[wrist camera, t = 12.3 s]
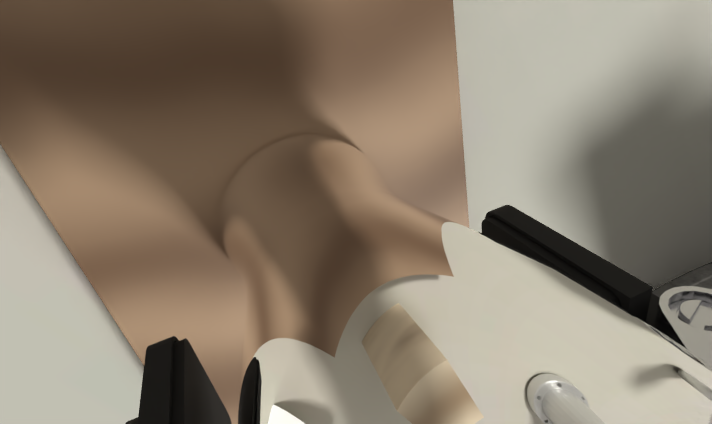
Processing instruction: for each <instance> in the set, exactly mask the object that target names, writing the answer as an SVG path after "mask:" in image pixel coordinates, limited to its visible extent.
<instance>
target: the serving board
mask: <svg viewBox="0 0 712 424" xmlns="http://www.w3.org/2000/svg"><path fill="white" fill-rule="evenodd" d="M298 135H324V136H329V137H334V138H337V139H340V140H342V141H345V142H347V143H349V144H351V145H352V146H354V147H355V148H357V149H358V150H360V151H361V152H362V153H363V154H364V155H365V156H366V157H367V158H368V159H369V160H370V161H371V162H372V163H373V164H374V166H375V167H376V168H377V170H378V171H379V173H380V174H381V176H382V177H383V179H384V181H385V182H386V184H387V186H388V187H389V189H390V190H391V191H392V192H393V193H394V194H395V195H396V196H398V197H399V198H401V199H402V200H404V201H407V202H409V203H411V204H413V205H415V206H417V207H420V208H422V209H425V210H427V211H429V212H432V213H434V214H437V215H439V216H442V217H444V218H447V219H449V220H452V221H454V222H456V223H459V224H461V225H463V226H466V227H468V228H469V219H468V205H467V191H466V177H465V163H464V149H463V135H462V122H461V108H460V94H459V80H458V66H457V52H456V38H455V24H454V10H453V0H0V144H1V146H2V147H3V149H4V150H5V152H6V153H7V155H8V156H9V158H10V159H11V161H12V163H13V164H14V166H15V167H16V169H17V170H18V172H19V173H20V175H21V176H22V178H23V180H24V181H25V183H26V184H27V186H28V187H29V189H30V190H31V192H32V193H33V195H34V197H35V198H36V200H37V201H38V203H39V204H40V206H41V207H42V209H43V210H44V212H45V214H46V215H47V217H48V218H49V220H50V221H51V223H52V224H53V226H54V227H55V229H56V231H57V232H58V234H59V235H60V237H61V238H62V240H63V241H64V243H65V244H66V246H67V248H68V249H69V251H70V252H71V254H72V255H73V257H74V258H75V260H76V261H77V263H78V265H79V266H80V268H81V269H82V271H83V272H84V274H85V275H86V277H87V278H88V280H89V281H90V283H91V285H92V286H93V288H94V289H95V291H96V292H97V294H98V295H99V297H100V298H101V300H102V302H103V303H104V305H105V306H106V308H107V309H108V311H109V312H110V314H111V315H112V317H113V319H114V320H115V322H116V323H117V325H118V326H119V328H120V329H121V331H122V332H123V334H124V336H125V337H126V339H127V340H128V342H129V343H130V345H131V346H132V348H133V349H134V351H135V353H136V354H137V356H138V357H139V359H140V360H141V362H142V363H143V365H144V364H145V355H146V349H147V347H148V346H149V345H152V344H154V343H157V342H159V341H162V340H165V339H167V338H170V337H172V336H175V337H177V338H178V340H179V341H180V340H183V339H185V338H186V339H187V340H188V341H189V343H190V344H191V346H192V348H193V350H194V352H195V353H196V355H197V357H198V359H199V361H200V363H201V364H202V366H203V368H204V370H205V372H206V373H207V375H208V377H209V379H210V381H211V383H212V384H213V386H214V388H215V390H216V392H217V393H218V395H219V397H220V399H221V401H222V403H223V404H224V406H225V408H226V410H227V412H228V414H229V416H230V419H231V423H232V424H238V408H239V394H240V381H241V367H242V354H243V342H244V331H245V320H246V298H247V296H246V288H245V285H244V282H243V280H242V279H241V277H240V275H239V274H238V272H237V271H236V269H235V268H234V266H233V264H232V263H231V261H230V259H229V257H228V255H227V253H226V251H225V248H224V246H223V242H222V239H221V234H220V227H219V216H220V208H221V203H222V199H223V196H224V194H225V191H226V189H227V187H228V185H229V183H230V181H231V179H232V178H233V176H234V175H235V173H236V172H237V170H238V169H239V168H240V167H241V166H242V165H243V164H244V162H245V161H247V160H248V159H249V158H250V157H251V156H252V155H254V154H255V153H256V152H258V151H259V150H261V149H262V148H264V147H266V146H267V145H269V144H271V143H274V142H276V141H279V140H281V139H284V138H288V137H292V136H298Z"/></svg>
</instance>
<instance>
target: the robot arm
mask: <svg viewBox="0 0 712 424" xmlns="http://www.w3.org/2000/svg"><path fill="white" fill-rule="evenodd" d="M482 234H484V235H487V236H489V237H492V238H494V239H496V240H499V241H501V242H503V243H505V244H507V245H509V246H511V247H513V248H515V249H517V250H519V251H521V252H523V253H525V254H527V255H529V256H531V257H533V258H535V259H537V260H539V261H541V262H543V263H545V264H547V265H549V266H551V267H553V268H555V269H557V270H559V271H561V272H563V273H565V274H567V275H569V276H571V277H573V278H575V279H576V280H578V281H580V282H581V283H583V284H585V285H586V286H588V287H589V288H591V289H593V290H594V291H596V292H598V293H599V294H601V295H602V296H604V297H606V298H607V299H609V300H611V301H612V302H614V303H615V304H617V305H619V306H620V307H622V308H624V309H625V310H627V311H629V312H630V313H632V314H633V315H635V316H637V317H638V318H640V319H642V320H643V321H645V322H646V323H648V324H650V325H651V326H653V327H655V328H656V329H658V330H659V331H661V332H663V333H664V334H666V335H667V336H669V337H670V338H671V339H673V340H674V341H676V342H677V343H679V344H680V345H682V346H683V347H684V348H686V349H687V350H689V351H690V352H692V353H693V354H695V355H696V356H698V357H699V358H700V359H702V360H703V361H705V362H706V363H708V364H709V365H711V366H712V289H707V288H702V287H696V286H681V287H674V288H671V289H669V290H667V291H665V292H664V293H663V294H662V295H661V296H660V298H659V297H658V296H656V295H654V294H653V293H652V288H653V287H651V286H649V285H648V284H646V283H644V282H642V281H641V280H639V279H637V278H636V277H634V276H632V275H630V274H629V273H627V272H625V271H623V270H622V269H620V268H618V267H616V266H615V265H613V264H611V263H610V262H608V261H606V260H604V259H603V258H601V257H599V256H597V255H596V254H594V253H592V252H590V251H589V250H587V249H585V248H583V247H582V246H580V245H578V244H577V243H575V242H573V241H571V240H570V239H568V238H566V237H564V236H563V235H561V234H559V233H557V232H556V231H554V230H552V229H550V228H549V227H547V226H545V225H544V224H542V223H540V222H538V221H537V220H535V219H533V218H531V217H530V216H528V215H526V214H524V213H523V212H521V211H519V210H518V209H516V208H514V207H512V206H510V205H505V206H502V207H500V208H497V209H495V210H492V211H490V212H488V213H487V214H486V217H485V219H484V220H483V221H482ZM126 424H232V423H231V419H230V416H229V414H228V412H227V410H226V408H225V406H224V404H223V403H222V401H221V399H220V397H219V395H218V393H217V392H216V390H215V388H214V386H213V384H212V383H211V381H210V379H209V377H208V375H207V373H206V372H205V370H204V368H203V366H202V364H201V363H200V361H199V359H198V357H197V355H196V353H195V352H194V350H193V348H192V346H191V344H190V343H189V341H188V340H187V339H186V338H185V339H183V340H180V341H179V340H178V338H177V337H175V336H172V337H170V338H167V339H165V340H162V341H159V342H157V343H154V344H152V345H149V346H148V347H147V349H146V355H145V364H144V373H143V382H142V390H141V399H140V408H139V417H137V418H135V419H133V420H130V421H128V422H126Z"/></svg>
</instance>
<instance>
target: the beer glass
mask: <svg viewBox="0 0 712 424" xmlns="http://www.w3.org/2000/svg"><path fill="white" fill-rule="evenodd" d="M219 227H220V234H221V239H222V242H223V246H224V248H225V251H226V253H227V255H228V257H229V259H230V261H231V263H232V264H233V266H234V268H235V269H236V271H237V272H238V274H239V275H240V277H241V279H242V280H243V282H244V285H245V288H246V296H247V298H246V320H245V331H244V342H243V354H242V367H241V381H240V394H239V408H238V424H712V366H711V365H709V364H708V363H706V362H705V361H703V360H702V359H700V358H699V357H698V356H696V355H695V354H693V353H692V352H690V351H689V350H687V349H686V348H684V347H683V346H682V345H680V344H679V343H677V342H676V341H674V340H673V339H671V338H670V337H669V336H667V335H666V334H664V333H663V332H661V331H659V330H658V329H656V328H655V327H653V326H651V325H650V324H648V323H646V322H645V321H643V320H642V319H640V318H638V317H637V316H635V315H633V314H632V313H630V312H629V311H627V310H625V309H624V308H622V307H620V306H619V305H617V304H615V303H614V302H612V301H611V300H609V299H607V298H606V297H604V296H602V295H601V294H599V293H598V292H596V291H594V290H593V289H591V288H589V287H588V286H586V285H585V284H583V283H581V282H580V281H578V280H576V279H575V278H573V277H571V276H569V275H567V274H565V273H563V272H561V271H559V270H557V269H555V268H553V267H551V266H549V265H547V264H545V263H543V262H541V261H539V260H537V259H535V258H533V257H531V256H529V255H527V254H525V253H523V252H521V251H519V250H517V249H515V248H513V247H511V246H509V245H507V244H505V243H503V242H501V241H499V240H496V239H494V238H492V237H489V236H487V235H484V234H482V233H480V232H477V231H475V230H473V229H470V228H468V227H466V226H463V225H461V224H459V223H456V222H454V221H452V220H449V219H447V218H444V217H442V216H439V215H437V214H434V213H432V212H429V211H427V210H425V209H422V208H420V207H417V206H415V205H413V204H411V203H409V202H407V201H404V200H402V199H401V198H399V197H398V196H396V195H395V194H394V193H393V192H392V191H391V190H390V189H389V187H388V186H387V184H386V182H385V181H384V179H383V177H382V176H381V174H380V173H379V171H378V170H377V168H376V167H375V166H374V164H373V163H372V162H371V161H370V160H369V159H368V158H367V157H366V156H365V155H364V154H363V153H362V152H361V151H360V150H358V149H357V148H355V147H354V146H352V145H351V144H349V143H347V142H345V141H342V140H340V139H337V138H334V137H329V136H324V135H298V136H292V137H288V138H284V139H281V140H279V141H276V142H274V143H271V144H269V145H267V146H266V147H264V148H262V149H261V150H259V151H258V152H256V153H255V154H254V155H252V156H251V157H250V158H249V159H248V160H247V161H245V162H244V164H243V165H242V166H241V167H240V168H239V169H238V170H237V172H236V173H235V175H234V176H233V178H232V179H231V181H230V183H229V185H228V187H227V189H226V191H225V194H224V196H223V199H222V203H221V208H220V216H219Z"/></svg>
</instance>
